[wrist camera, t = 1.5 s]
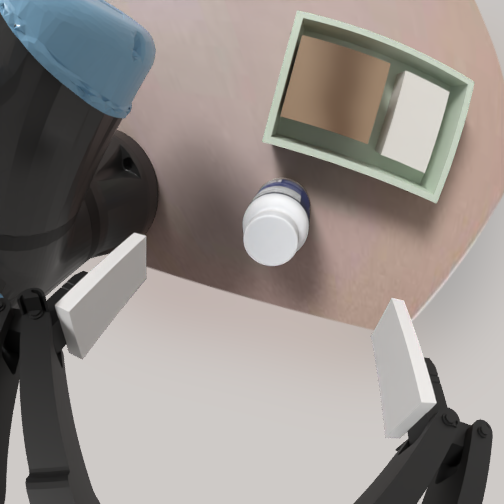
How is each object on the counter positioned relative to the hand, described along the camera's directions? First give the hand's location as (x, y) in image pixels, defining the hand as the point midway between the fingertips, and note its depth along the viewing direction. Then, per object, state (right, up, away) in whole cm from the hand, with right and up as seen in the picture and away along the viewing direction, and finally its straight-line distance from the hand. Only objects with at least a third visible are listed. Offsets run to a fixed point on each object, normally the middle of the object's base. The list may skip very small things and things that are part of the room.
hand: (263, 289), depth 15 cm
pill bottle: (+3, +7, +15) cm, 17 cm away
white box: (+14, +14, +8) cm, 21 cm away
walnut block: (+7, +16, +9) cm, 20 cm away
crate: (+10, +15, +9) cm, 21 cm away
